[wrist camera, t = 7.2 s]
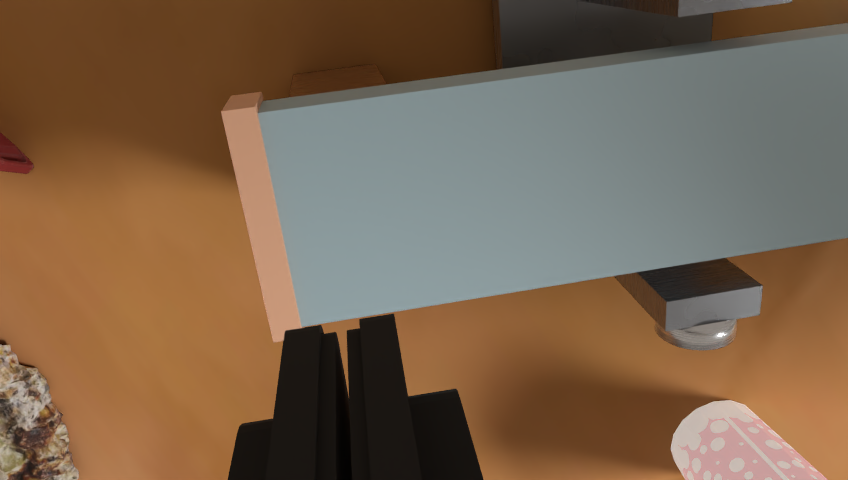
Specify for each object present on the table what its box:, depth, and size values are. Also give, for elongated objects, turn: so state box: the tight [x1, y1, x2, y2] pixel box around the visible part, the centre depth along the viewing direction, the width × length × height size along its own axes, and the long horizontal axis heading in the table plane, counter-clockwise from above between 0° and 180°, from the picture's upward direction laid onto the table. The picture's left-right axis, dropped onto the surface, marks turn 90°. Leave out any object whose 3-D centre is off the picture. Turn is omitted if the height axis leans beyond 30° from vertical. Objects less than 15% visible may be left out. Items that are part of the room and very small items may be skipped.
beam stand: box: [289, 0, 792, 350], centre depth 22 cm, size 16×12×9 cm
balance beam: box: [221, 23, 848, 342], centre depth 19 cm, size 26×6×2 cm, turn 96°
